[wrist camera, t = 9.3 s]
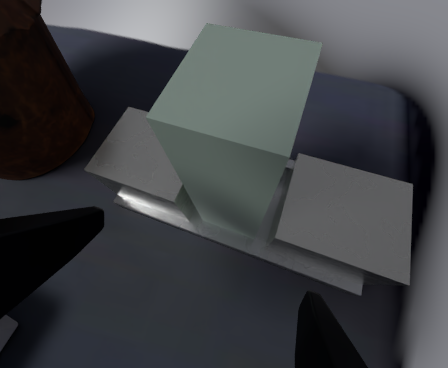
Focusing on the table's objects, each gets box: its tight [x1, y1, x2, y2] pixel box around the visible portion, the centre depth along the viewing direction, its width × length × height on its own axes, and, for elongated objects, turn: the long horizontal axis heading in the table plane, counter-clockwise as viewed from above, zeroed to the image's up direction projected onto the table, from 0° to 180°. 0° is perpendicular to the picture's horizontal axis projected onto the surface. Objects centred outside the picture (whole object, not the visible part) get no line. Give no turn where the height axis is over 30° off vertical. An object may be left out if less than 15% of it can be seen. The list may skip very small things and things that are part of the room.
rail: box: [84, 107, 413, 296], centre depth 17 cm, size 8×21×6 cm, turn 69°
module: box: [146, 23, 323, 239], centre depth 13 cm, size 5×4×12 cm
